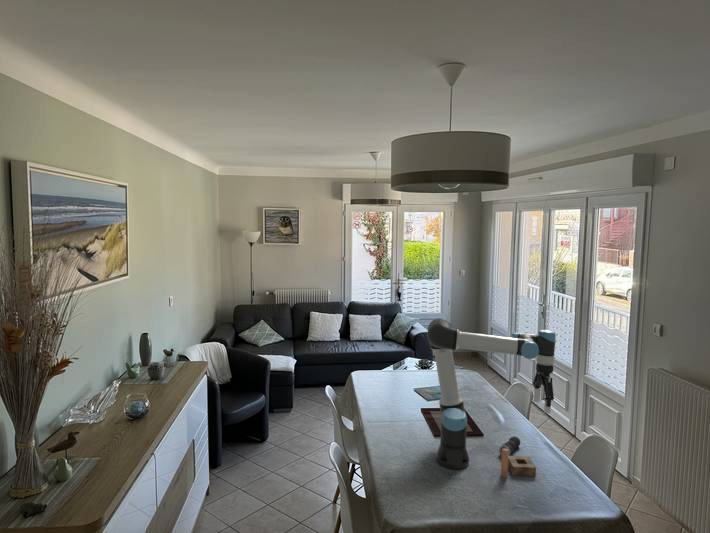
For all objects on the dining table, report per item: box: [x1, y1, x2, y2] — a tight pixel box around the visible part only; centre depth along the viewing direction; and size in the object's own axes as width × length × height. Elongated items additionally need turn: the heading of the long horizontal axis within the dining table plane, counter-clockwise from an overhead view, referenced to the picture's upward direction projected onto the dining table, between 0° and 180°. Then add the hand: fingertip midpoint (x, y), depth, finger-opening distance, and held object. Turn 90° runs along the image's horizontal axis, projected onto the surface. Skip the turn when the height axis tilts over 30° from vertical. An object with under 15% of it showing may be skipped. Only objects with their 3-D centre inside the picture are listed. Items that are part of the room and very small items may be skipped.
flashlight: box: [498, 436, 521, 456], centre depth 233 cm, size 15×5×5 cm, turn 141°
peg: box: [500, 448, 509, 479], centre depth 209 cm, size 3×3×12 cm
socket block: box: [508, 455, 537, 477], centre depth 214 cm, size 10×10×4 cm
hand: (541, 407), depth 224 cm, fingers open, 13 cm apart
